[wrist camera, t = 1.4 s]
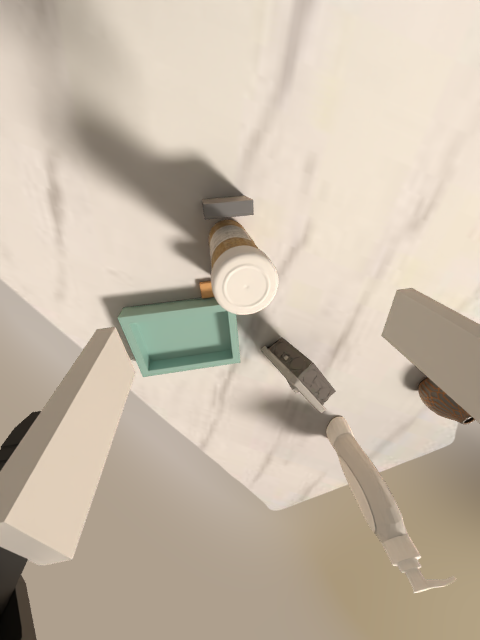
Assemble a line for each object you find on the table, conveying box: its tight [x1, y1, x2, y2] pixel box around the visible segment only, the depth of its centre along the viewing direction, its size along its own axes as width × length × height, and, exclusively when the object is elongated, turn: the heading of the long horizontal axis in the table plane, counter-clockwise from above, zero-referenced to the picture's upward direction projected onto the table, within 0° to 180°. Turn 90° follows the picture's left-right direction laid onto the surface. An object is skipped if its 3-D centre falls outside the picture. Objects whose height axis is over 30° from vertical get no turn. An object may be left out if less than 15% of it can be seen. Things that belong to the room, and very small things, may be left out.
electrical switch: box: [261, 338, 335, 413], centre depth 34 cm, size 9×5×9 cm, turn 36°
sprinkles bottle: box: [208, 220, 278, 315], centre depth 21 cm, size 5×5×14 cm
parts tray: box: [118, 297, 240, 377], centre depth 31 cm, size 10×14×2 cm
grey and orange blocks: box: [200, 196, 254, 298], centre depth 25 cm, size 11×8×5 cm
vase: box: [419, 378, 475, 425], centre depth 44 cm, size 7×7×9 cm
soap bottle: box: [326, 417, 457, 593], centre depth 42 cm, size 13×8×24 cm, turn 12°
